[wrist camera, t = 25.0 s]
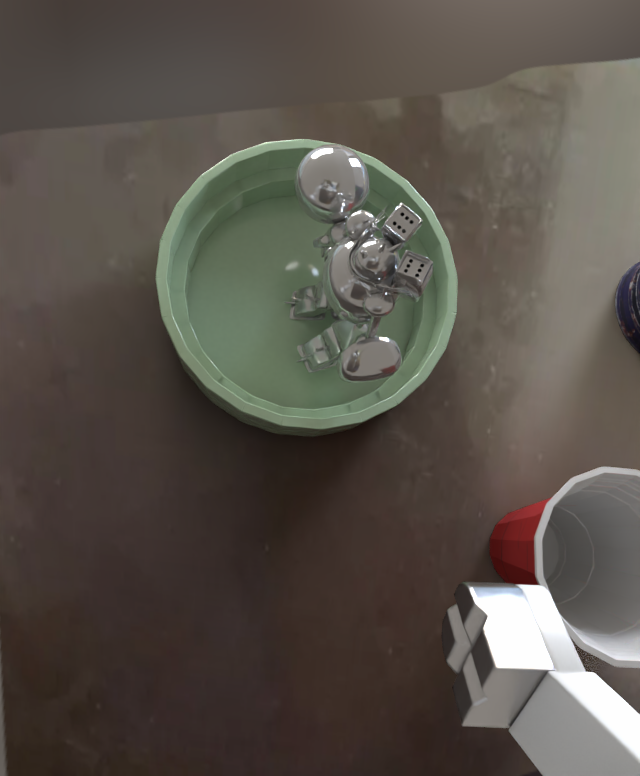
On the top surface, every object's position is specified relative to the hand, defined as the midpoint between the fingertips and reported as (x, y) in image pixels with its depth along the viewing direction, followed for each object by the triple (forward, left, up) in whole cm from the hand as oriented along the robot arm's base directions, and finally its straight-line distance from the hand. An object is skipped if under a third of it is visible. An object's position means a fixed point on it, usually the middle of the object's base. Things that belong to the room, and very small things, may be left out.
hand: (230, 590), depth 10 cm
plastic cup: (+22, -1, -32) cm, 38 cm away
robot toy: (+6, +16, -31) cm, 35 cm away
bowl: (+4, +16, -31) cm, 36 cm away
